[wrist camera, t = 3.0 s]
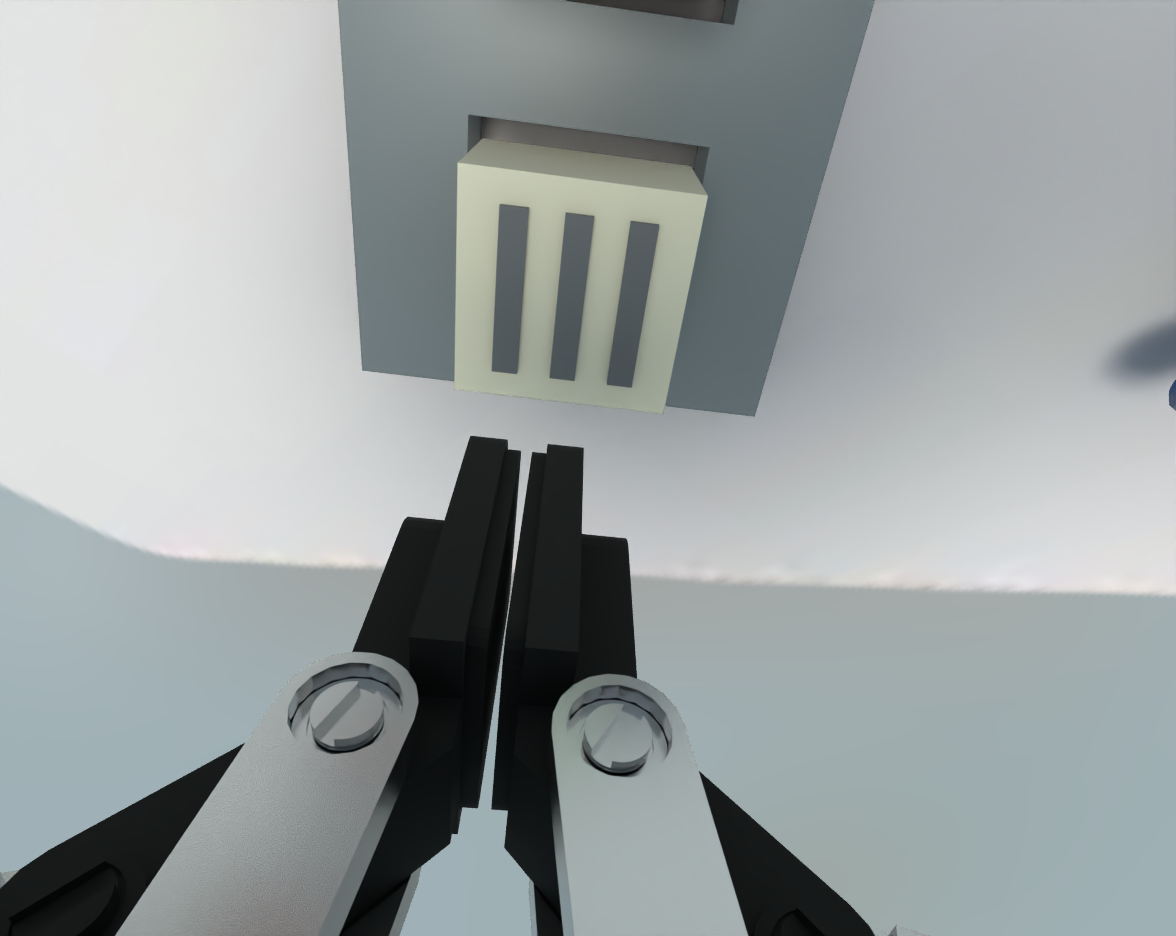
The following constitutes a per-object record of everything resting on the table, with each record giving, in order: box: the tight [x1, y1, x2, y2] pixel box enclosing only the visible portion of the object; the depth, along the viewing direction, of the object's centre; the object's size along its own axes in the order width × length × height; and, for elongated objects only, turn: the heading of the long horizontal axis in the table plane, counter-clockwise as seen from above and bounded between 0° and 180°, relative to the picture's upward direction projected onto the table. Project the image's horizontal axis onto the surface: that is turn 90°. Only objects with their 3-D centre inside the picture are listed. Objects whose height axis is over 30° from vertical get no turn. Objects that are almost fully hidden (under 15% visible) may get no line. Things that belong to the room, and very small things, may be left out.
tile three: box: [454, 138, 708, 414], centre depth 20 cm, size 6×6×4 cm
